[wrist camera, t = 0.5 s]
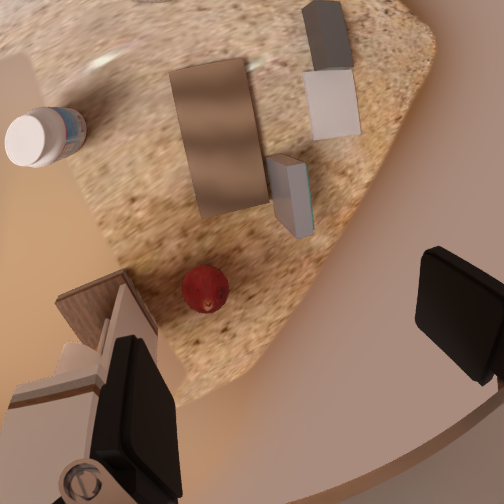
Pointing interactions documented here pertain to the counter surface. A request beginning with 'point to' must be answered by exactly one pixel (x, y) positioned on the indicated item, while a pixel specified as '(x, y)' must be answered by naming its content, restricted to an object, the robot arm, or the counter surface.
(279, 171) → the tile
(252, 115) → the rest
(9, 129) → the pill bottle
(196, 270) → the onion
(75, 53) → the counter surface
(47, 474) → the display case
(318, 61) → the stepped grey white block
